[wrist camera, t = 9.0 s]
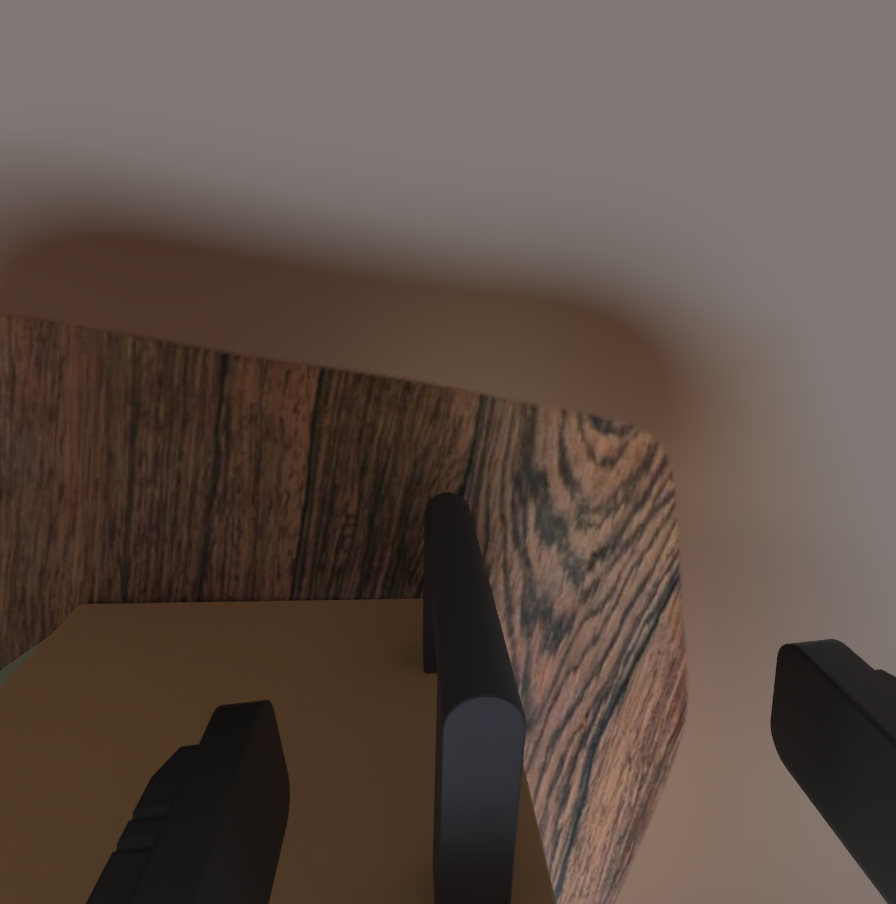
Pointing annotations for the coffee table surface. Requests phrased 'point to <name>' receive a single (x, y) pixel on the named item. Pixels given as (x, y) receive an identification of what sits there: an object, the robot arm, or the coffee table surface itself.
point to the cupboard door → (289, 736)
